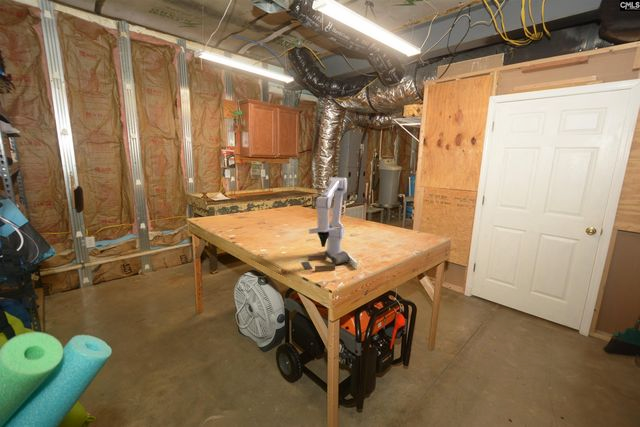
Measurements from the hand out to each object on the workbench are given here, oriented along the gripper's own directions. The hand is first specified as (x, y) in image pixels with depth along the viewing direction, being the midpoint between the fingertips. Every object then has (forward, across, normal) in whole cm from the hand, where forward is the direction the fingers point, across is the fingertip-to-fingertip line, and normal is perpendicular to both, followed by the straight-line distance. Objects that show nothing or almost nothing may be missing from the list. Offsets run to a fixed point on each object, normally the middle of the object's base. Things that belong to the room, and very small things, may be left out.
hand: (323, 246), depth 144 cm
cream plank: (+10, +14, 0) cm, 18 cm away
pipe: (+7, +4, 0) cm, 8 cm away
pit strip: (+10, -8, 0) cm, 13 cm away
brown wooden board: (+10, -1, 0) cm, 10 cm away
